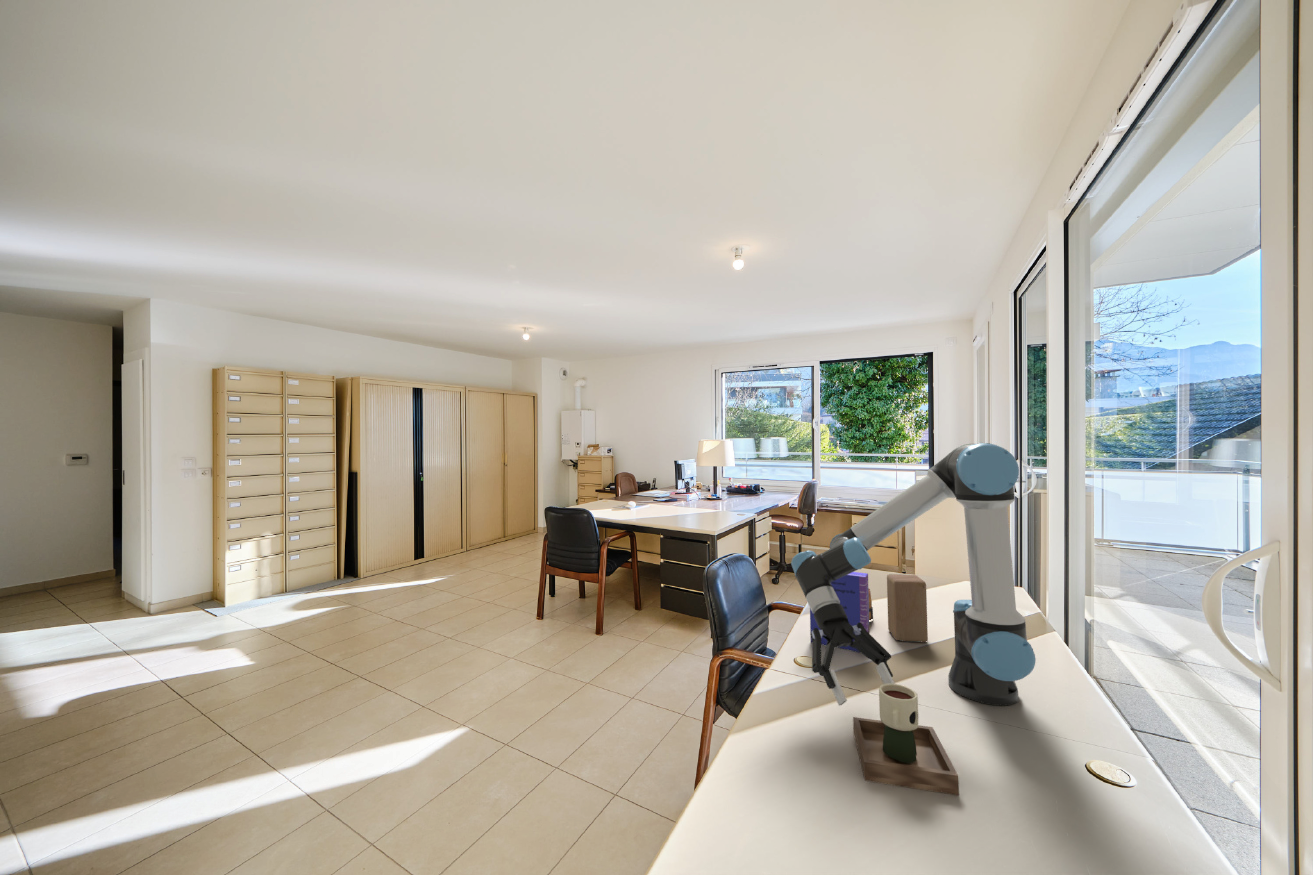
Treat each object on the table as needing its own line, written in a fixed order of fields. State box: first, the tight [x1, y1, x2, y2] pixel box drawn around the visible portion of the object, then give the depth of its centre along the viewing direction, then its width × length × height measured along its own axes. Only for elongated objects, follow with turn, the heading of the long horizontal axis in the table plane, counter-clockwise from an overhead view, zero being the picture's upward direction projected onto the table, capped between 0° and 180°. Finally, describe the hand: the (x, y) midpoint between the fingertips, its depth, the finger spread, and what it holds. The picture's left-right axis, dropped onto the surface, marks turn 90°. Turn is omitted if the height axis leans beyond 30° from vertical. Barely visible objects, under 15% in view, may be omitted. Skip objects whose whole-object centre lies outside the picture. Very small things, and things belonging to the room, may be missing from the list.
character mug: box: [878, 683, 919, 763], centre depth 97 cm, size 11×7×13 cm, turn 147°
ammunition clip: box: [868, 588, 874, 620], centre depth 174 cm, size 11×2×12 cm, turn 133°
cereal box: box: [809, 571, 871, 654], centre depth 155 cm, size 17×5×24 cm, turn 58°
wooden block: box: [886, 573, 929, 643], centre depth 161 cm, size 10×10×20 cm
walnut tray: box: [852, 716, 960, 796], centre depth 97 cm, size 16×16×4 cm
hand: (869, 698), depth 106 cm, fingers open, 13 cm apart
